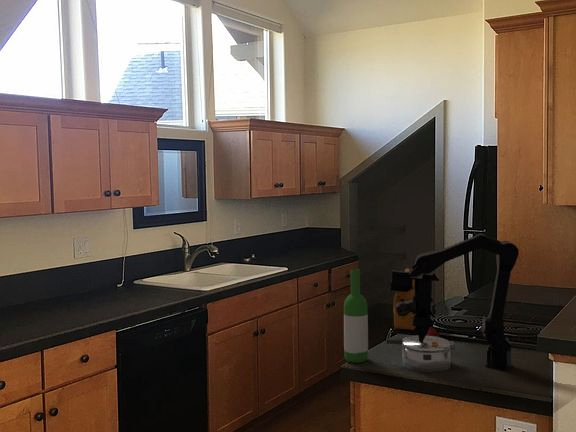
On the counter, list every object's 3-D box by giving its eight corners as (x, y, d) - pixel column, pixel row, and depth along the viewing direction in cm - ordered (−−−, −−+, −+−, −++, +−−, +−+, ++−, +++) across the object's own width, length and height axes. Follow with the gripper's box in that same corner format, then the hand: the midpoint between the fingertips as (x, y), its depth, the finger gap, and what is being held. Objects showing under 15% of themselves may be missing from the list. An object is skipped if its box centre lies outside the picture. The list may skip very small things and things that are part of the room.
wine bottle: (371, 362, 211) (370, 271, 208) (347, 364, 209) (346, 272, 207) (364, 355, 218) (363, 267, 216) (341, 357, 217) (340, 268, 214)
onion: (426, 344, 229) (426, 322, 229) (441, 347, 226) (441, 324, 225) (418, 348, 225) (418, 326, 224) (434, 351, 221) (434, 328, 220)
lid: (452, 340, 213) (452, 333, 213) (456, 354, 198) (456, 346, 198) (386, 336, 217) (387, 329, 217) (385, 350, 202) (386, 342, 202)
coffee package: (389, 328, 251) (389, 272, 249) (397, 321, 262) (397, 267, 260) (415, 331, 247) (415, 274, 245) (422, 323, 258) (422, 268, 256)
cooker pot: (448, 355, 216) (448, 338, 216) (452, 375, 197) (452, 355, 197) (402, 354, 219) (402, 336, 218) (402, 373, 200) (402, 354, 199)
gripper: (397, 286, 216) (395, 332, 218) (397, 298, 198) (395, 348, 200) (431, 288, 215) (429, 334, 216) (434, 300, 196) (432, 351, 198)
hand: (420, 341), depth 208 cm, fingers closed, pressing on lid
